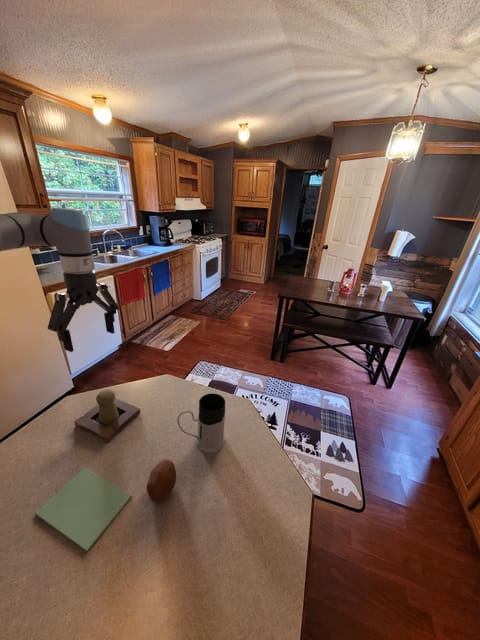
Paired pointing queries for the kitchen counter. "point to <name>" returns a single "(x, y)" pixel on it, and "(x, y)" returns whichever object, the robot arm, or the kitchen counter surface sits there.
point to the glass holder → (209, 423)
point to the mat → (84, 508)
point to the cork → (107, 407)
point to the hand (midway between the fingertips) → (91, 340)
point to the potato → (161, 480)
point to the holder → (108, 433)
